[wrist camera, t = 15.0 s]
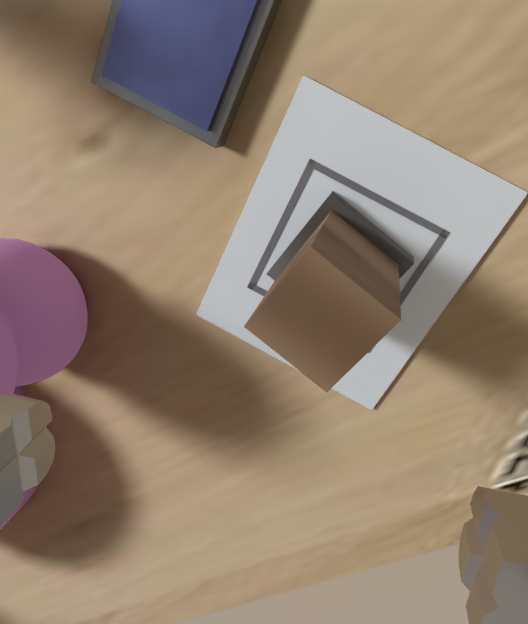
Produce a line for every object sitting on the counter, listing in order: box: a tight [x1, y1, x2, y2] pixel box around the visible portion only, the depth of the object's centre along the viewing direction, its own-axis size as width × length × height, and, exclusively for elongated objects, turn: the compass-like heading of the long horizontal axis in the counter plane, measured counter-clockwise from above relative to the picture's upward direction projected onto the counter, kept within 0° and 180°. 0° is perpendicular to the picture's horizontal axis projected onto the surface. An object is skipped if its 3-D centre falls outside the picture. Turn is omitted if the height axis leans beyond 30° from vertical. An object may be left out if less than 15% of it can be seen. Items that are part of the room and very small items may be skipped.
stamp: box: [244, 191, 414, 392], centre depth 19 cm, size 4×4×7 cm
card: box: [196, 75, 528, 410], centre depth 22 cm, size 12×10×1 cm
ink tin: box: [92, 0, 281, 148], centre depth 19 cm, size 8×6×1 cm
